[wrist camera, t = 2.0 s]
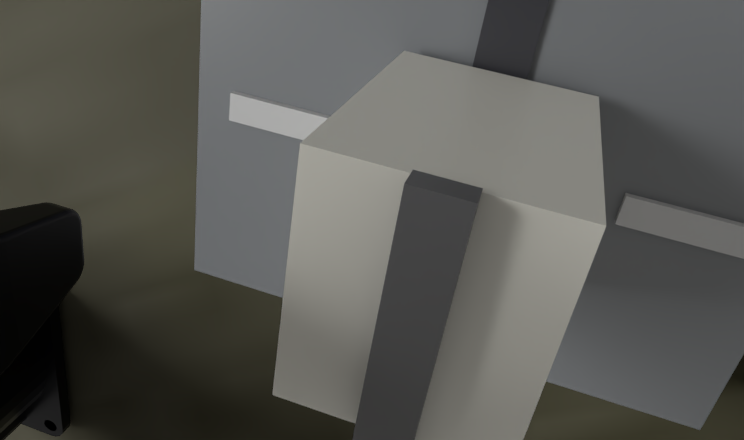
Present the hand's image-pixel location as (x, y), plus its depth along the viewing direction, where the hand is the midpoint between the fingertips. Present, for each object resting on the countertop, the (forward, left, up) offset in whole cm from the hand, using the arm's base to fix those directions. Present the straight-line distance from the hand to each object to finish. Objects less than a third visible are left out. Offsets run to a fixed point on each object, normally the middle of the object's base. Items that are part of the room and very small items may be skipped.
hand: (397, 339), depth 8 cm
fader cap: (0, 0, -5) cm, 5 cm away
